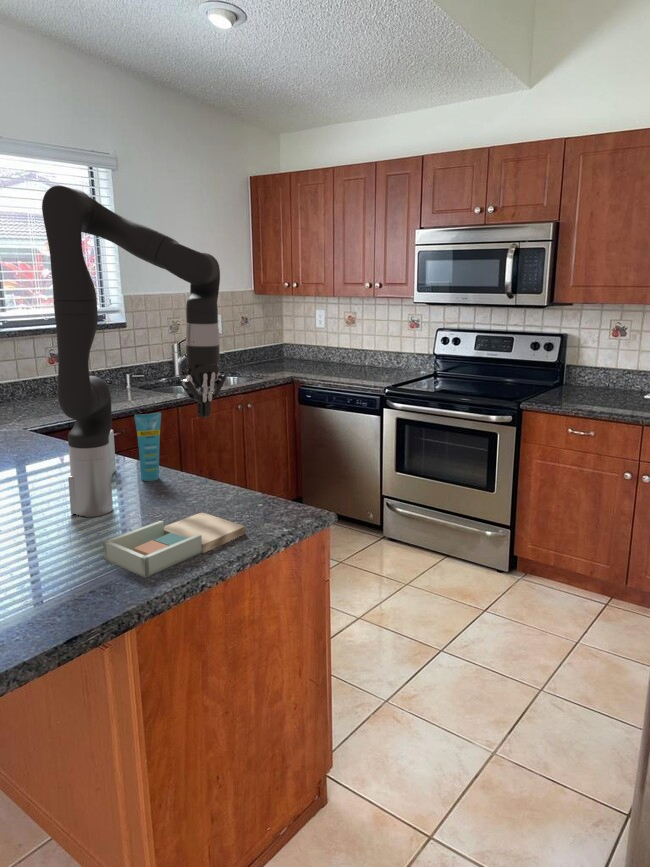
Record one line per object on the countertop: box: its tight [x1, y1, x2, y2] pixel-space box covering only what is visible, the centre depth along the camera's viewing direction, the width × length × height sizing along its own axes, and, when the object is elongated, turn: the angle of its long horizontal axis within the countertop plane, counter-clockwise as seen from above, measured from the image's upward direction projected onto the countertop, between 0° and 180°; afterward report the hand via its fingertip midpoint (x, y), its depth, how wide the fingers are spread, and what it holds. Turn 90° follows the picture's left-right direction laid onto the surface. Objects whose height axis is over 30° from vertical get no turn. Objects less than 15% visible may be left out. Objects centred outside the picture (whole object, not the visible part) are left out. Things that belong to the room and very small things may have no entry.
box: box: [102, 520, 203, 578], centre depth 135 cm, size 15×13×4 cm
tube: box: [133, 412, 162, 482], centre depth 182 cm, size 7×5×19 cm, turn 123°
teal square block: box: [154, 533, 187, 546], centre depth 138 cm, size 5×5×2 cm
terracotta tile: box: [134, 540, 168, 556], centre depth 134 cm, size 5×5×2 cm
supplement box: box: [109, 429, 117, 477], centre depth 186 cm, size 7×7×13 cm
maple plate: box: [164, 512, 246, 554], centre depth 146 cm, size 13×14×2 cm
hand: (204, 416), depth 151 cm, fingers closed
